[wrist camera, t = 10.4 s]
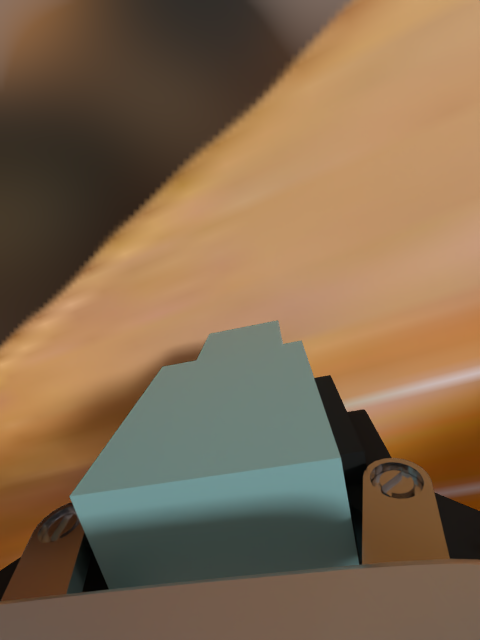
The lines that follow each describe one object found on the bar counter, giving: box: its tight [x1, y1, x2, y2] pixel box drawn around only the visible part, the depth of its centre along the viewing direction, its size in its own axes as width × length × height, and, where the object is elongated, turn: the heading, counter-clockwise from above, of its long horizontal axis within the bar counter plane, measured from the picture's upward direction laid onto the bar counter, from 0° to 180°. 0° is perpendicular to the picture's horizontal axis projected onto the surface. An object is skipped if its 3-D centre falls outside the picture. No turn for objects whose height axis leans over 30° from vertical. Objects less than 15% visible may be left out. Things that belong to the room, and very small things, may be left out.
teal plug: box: [69, 321, 359, 589], centre depth 12 cm, size 5×5×12 cm
